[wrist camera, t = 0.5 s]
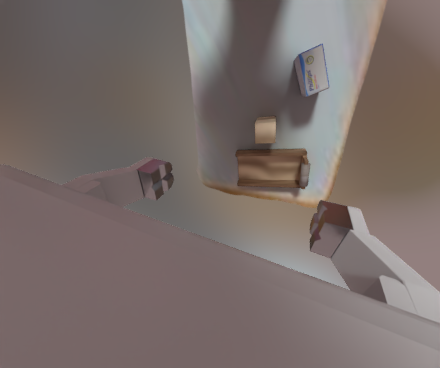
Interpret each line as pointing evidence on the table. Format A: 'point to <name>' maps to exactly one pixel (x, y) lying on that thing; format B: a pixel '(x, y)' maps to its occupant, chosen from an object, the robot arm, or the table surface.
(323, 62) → the medicine box
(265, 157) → the wooden drawer with handle
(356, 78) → the table surface
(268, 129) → the tan wooden block
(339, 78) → the table surface
